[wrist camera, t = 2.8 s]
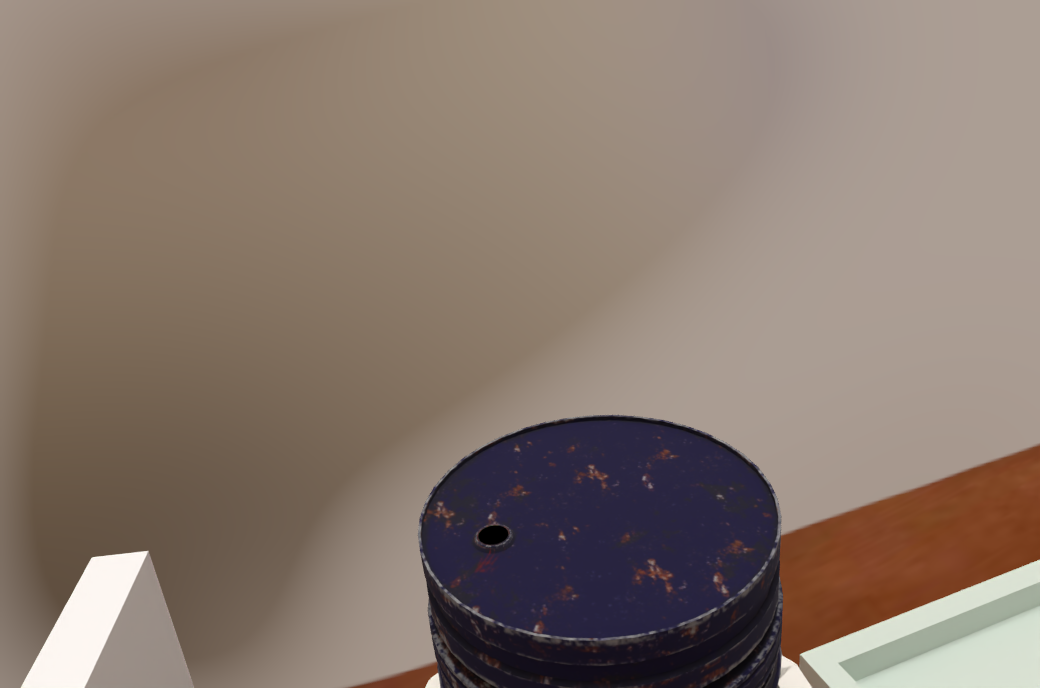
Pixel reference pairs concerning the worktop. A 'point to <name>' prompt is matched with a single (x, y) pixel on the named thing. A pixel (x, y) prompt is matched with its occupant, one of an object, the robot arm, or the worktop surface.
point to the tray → (944, 642)
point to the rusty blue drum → (604, 561)
